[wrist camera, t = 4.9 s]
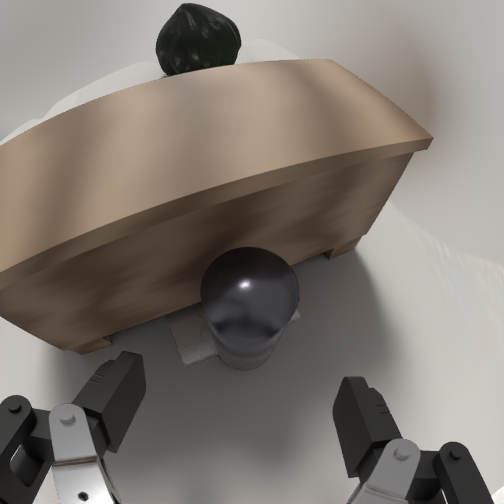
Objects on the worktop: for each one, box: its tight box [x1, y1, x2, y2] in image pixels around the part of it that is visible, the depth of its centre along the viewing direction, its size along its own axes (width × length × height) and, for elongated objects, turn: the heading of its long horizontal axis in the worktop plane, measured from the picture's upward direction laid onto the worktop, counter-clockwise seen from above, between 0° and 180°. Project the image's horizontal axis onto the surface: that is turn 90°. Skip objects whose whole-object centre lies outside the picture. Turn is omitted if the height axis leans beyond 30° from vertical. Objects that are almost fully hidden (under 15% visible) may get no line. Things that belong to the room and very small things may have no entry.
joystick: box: [165, 247, 301, 371], centre depth 17 cm, size 9×12×10 cm
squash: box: [156, 3, 241, 76], centre depth 37 cm, size 14×15×15 cm
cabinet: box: [0, 59, 433, 355], centre depth 18 cm, size 27×11×13 cm, turn 115°
